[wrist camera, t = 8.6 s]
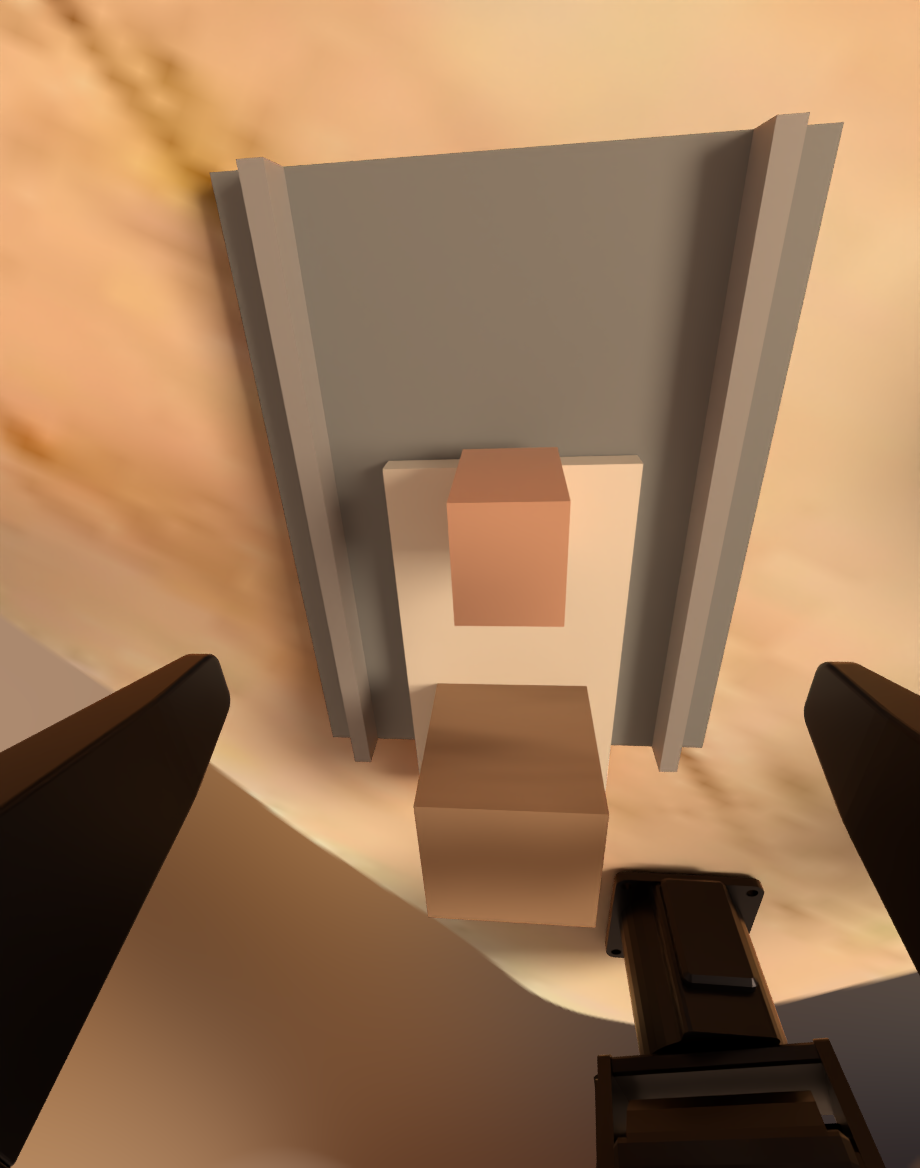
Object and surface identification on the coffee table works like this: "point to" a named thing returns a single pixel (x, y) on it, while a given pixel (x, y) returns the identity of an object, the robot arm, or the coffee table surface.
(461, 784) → the walnut block
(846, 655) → the coffee table surface
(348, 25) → the coffee table surface
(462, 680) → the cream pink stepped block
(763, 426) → the lane board
